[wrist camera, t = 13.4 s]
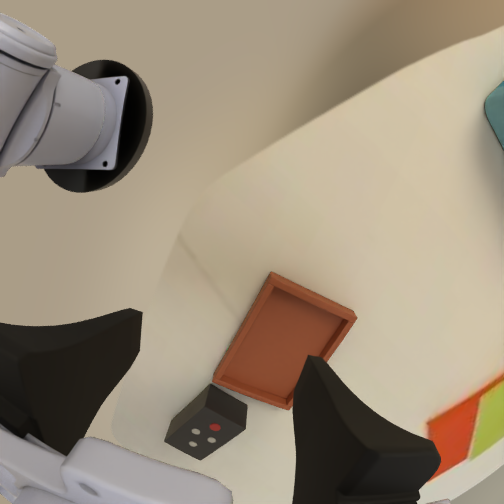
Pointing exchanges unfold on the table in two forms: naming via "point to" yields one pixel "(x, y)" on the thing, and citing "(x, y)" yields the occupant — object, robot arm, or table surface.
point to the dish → (281, 341)
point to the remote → (207, 423)
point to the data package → (496, 111)
